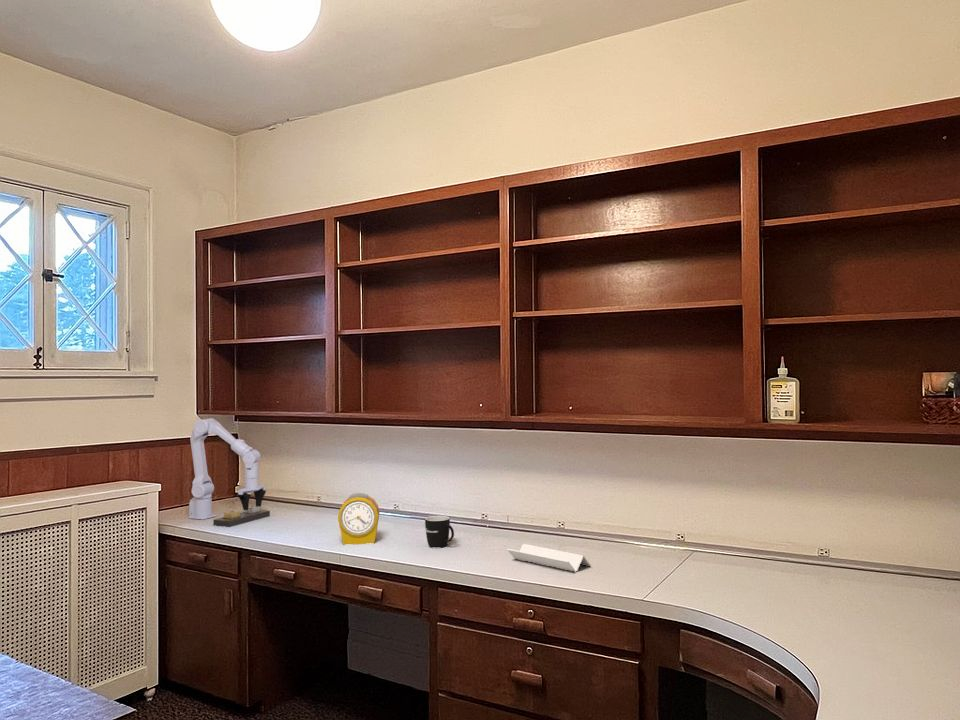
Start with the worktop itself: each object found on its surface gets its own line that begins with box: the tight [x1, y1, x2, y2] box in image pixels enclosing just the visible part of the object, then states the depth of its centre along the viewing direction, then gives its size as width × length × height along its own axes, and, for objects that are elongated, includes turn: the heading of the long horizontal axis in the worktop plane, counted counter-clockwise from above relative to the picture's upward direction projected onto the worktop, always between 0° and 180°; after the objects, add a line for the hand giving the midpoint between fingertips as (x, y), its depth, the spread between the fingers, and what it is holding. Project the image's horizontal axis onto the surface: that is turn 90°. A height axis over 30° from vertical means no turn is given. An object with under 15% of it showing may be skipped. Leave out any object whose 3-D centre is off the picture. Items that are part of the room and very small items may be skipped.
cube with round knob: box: [244, 505, 261, 514], centre depth 325 cm, size 4×4×5 cm
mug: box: [424, 515, 455, 548], centre depth 267 cm, size 12×9×10 cm
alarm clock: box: [337, 492, 380, 546], centre depth 277 cm, size 15×8×18 cm, turn 95°
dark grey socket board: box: [212, 509, 271, 528], centre depth 320 cm, size 9×24×2 cm, turn 153°
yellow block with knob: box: [223, 510, 241, 520], centre depth 314 cm, size 4×4×5 cm
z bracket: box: [506, 543, 592, 573], centre depth 241 cm, size 12×25×6 cm
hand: (252, 508), depth 325 cm, fingers open, 7 cm apart
